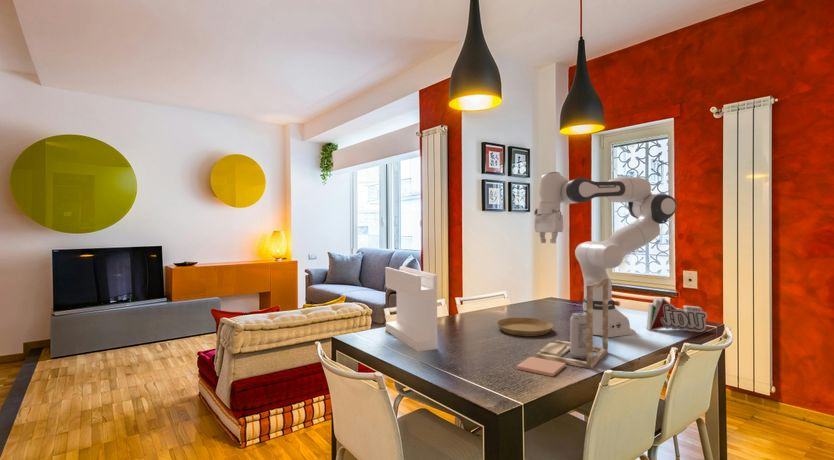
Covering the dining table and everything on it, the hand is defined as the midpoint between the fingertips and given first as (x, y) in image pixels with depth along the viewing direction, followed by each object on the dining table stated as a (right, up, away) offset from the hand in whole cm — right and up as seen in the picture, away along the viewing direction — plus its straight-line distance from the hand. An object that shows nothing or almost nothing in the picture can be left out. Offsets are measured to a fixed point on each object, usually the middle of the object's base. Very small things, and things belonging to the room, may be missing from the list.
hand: (547, 243), depth 184 cm
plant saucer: (-8, -39, +8) cm, 41 cm away
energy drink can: (+2, -40, -29) cm, 49 cm away
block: (-58, -39, -5) cm, 71 cm away
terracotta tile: (-14, -40, -41) cm, 59 cm away
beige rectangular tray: (-5, -39, -24) cm, 46 cm away
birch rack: (+1, -39, -28) cm, 48 cm away
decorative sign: (+58, -39, +7) cm, 70 cm away
